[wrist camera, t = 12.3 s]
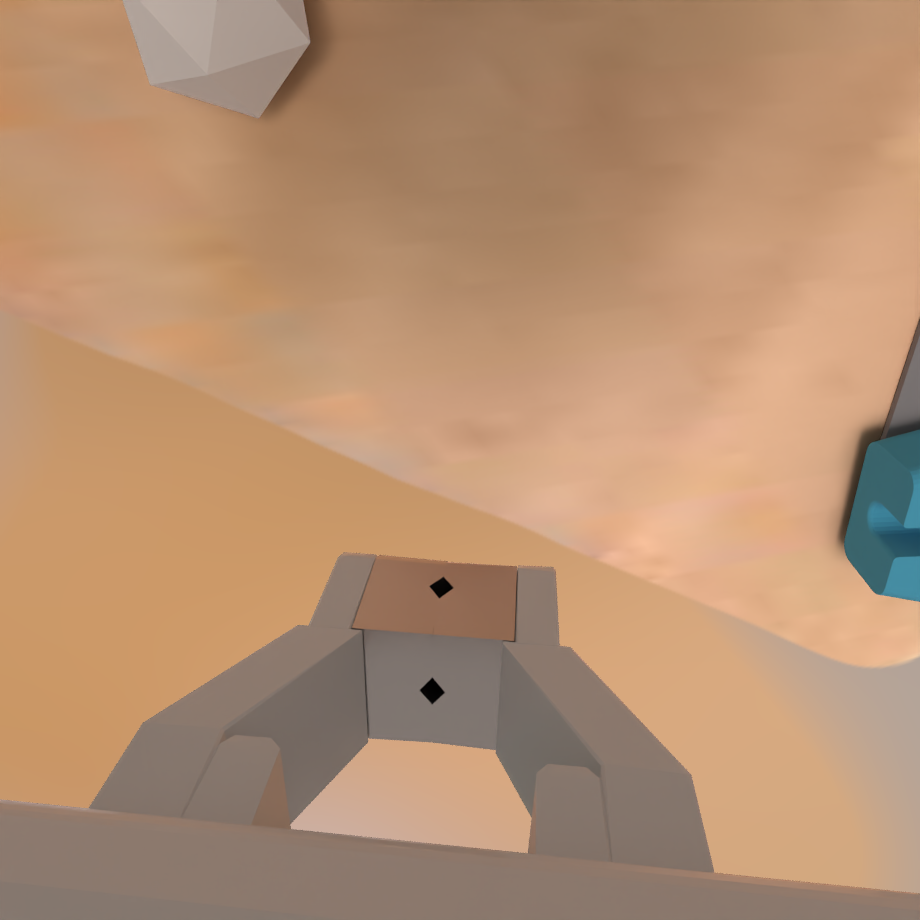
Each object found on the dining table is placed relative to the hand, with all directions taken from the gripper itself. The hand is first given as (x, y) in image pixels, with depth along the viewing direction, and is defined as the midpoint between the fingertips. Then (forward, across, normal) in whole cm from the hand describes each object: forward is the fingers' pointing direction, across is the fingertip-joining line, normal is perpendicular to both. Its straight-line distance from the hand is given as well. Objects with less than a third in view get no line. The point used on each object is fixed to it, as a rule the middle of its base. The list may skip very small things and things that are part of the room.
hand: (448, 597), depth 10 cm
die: (+33, +14, -10) cm, 38 cm away
